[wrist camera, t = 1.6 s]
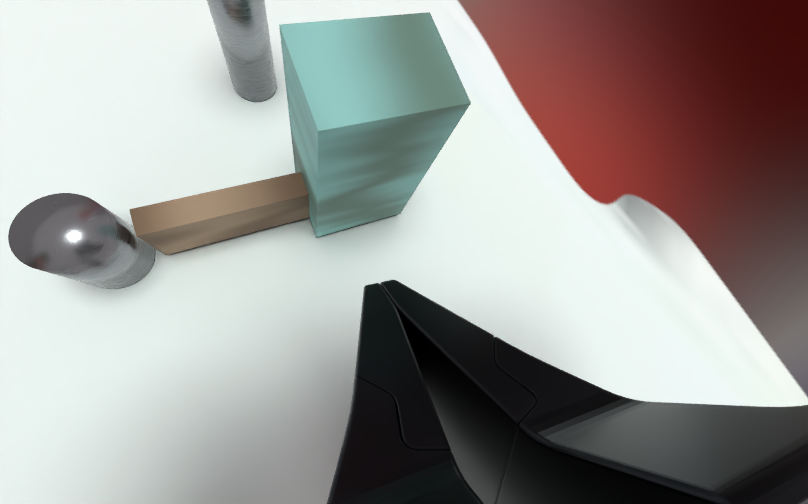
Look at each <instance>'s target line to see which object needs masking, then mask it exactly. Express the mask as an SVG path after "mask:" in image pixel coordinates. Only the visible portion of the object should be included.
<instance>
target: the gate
mask: <svg viewBox="0 0 808 504" xmlns="http://www.w3.org/2000/svg"><path fill="white" fill-rule="evenodd" d="M279 26H280V35H281V44H282V53H283V63H284V72H285V81H286V90H287V99H288V108H289V117H290V126H291V135H292V144H293V154H294V163H295V172H296V173H294V174H289V175H284V176H280V177H275V178H271V179H266V180H262V181H257V182H253V183H248V184H243V185H239V186H234V187H230V188H225V189H221V190H216V191H212V192H207V193H202V194H198V195H193V196H189V197H184V198H180V199H175V200H171V201H166V202H161V203H157V204H152V205H148V206H143V207H139V208H134V209H130V214H131V218H132V222H133V226H134V230H135V234H136V237H138V238H140V239H141V240H143V241H144V242H146V243H148V244H149V245H151V246H152V247H154V248H156V249H157V250H159V251H161V252H162V253H164V254H165V255H169V254H172V253H176V252H180V251H184V250H188V249H191V248H195V247H199V246H203V245H207V244H210V243H214V242H218V241H222V240H225V239H229V238H233V237H237V236H241V235H244V234H248V233H252V232H256V231H260V230H263V229H267V228H271V227H275V226H279V225H282V224H286V223H290V222H294V221H298V220H301V219H305V218H309V217H310V220H311V223H312V226H313V229H314V232H315V235H316V237H319V236H323V235H326V234H330V233H333V232H337V231H341V230H344V229H348V228H351V227H355V226H358V225H362V224H365V223H369V222H372V221H376V220H379V219H383V218H386V217H390V216H393V215H397V214H400V213H401V211H402V210H403V208H404V207H405V205H406V203H407V202H408V200H409V199H410V197H411V196H412V194H413V193H414V191H415V189H416V188H417V186H418V185H419V183H420V182H421V180H422V178H423V177H424V175H425V174H426V172H427V171H428V169H429V168H430V166H431V164H432V163H433V161H434V160H435V158H436V157H437V155H438V153H439V152H440V150H441V149H442V147H443V146H444V144H445V143H446V141H447V139H448V138H449V136H450V135H451V133H452V132H453V130H454V128H455V127H456V125H457V124H458V122H459V121H460V119H461V118H462V116H463V114H464V113H465V111H466V110H467V108H468V107H469V105H470V103H471V102H470V100H469V98H468V96H467V93H466V91H465V89H464V87H463V85H462V82H461V80H460V78H459V76H458V74H457V71H456V69H455V67H454V65H453V63H452V60H451V58H450V56H449V54H448V52H447V49H446V47H445V45H444V43H443V41H442V38H441V36H440V34H439V32H438V30H437V27H436V25H435V23H434V21H433V19H432V16H431V14H430V12H429V13H417V14H405V15H393V16H380V17H368V18H356V19H344V20H332V21H320V22H307V23H295V24H283V25H279Z"/></svg>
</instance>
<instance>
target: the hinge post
mask: <svg viewBox="0 0 808 504" xmlns="http://www.w3.org/2000/svg"><path fill="white" fill-rule="evenodd" d="M8 238H9V245H10V248H11V250H12V252H13V253H14V255H15V256H16V257H17V258H18V259H19V260H20V261H21V262H22V263H24V264H26V265H28V266H30V267H32V268H35V269H39V270H42V271H46V272H49V273H53V274H57V275H60V276H64V277H67V278H71V279H74V280H78V281H82V282H85V283H89V284H92V285H96V286H99V287H103V288H109V289H117V288H124V287H127V286H130V285H132V284H135V283H136V282H138V281H140V280H141V279H142V278H143V277H145V276H146V275H147V273H148V272H149V271H150V269H151V268H152V266H153V263H154V260H155V249H154V247H152V246H151V245H149V244H148V243H146V242H144V241H143V240H141V239H140V238H138V237H136V234H135V230H134V227H133V226H131V225H130V224H128V223H127V222H125V221H124V220H122V219H121V218H119V217H118V216H116V215H115V214H113V213H112V212H110V211H109V210H107V209H106V208H104V207H103V206H101V205H100V204H98V203H97V202H95V201H93V200H92V199H90V198H88V197H85V196H82V195H78V194H71V193H60V194H53V195H48V196H45V197H42V198H40V199H37V200H35V201H33V202H32V203H30V204H29V205H27V206H26V207H24V208H23V209H22V210H21V211H20V212H19V213H18V214H17V216H16V217H15V218H14V220H13V222H12V224H11V226H10V229H9V235H8Z"/></svg>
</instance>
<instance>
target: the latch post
mask: <svg viewBox="0 0 808 504" xmlns="http://www.w3.org/2000/svg"><path fill="white" fill-rule="evenodd" d="M207 2H208V5H209V9H210V12H211V15H212V18H213V22H214V25H215V28H216V31H217V34H218V38H219V41H220V44H221V47H222V50H223V54H224V57H225V60H226V63H227V67H228V70H229V73H230V76H231V79H232V83H233V86H234V89H235V90H236V92H237V93H238V94H239V95H240V96H241V97H243V98H244V99H247V100H250V101H255V102H259V101H265V100H267V99H269V98H271V97H272V96H273V95H274V93H275V92H276V88H277V84H276V77H275V70H274V63H273V56H272V50H271V43H270V36H269V29H268V22H267V15H266V8H265V1H264V0H207Z"/></svg>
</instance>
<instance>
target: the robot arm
mask: <svg viewBox="0 0 808 504" xmlns="http://www.w3.org/2000/svg"><path fill="white" fill-rule="evenodd" d="M327 504H808V405H804V406H794V407H756V406H732V405H709V404H685V403H662V402H645V401H639V400H633V399H629V398H625V397H622V396H619V395H616V394H614V393H611V392H609V391H606V390H604V389H602V388H600V387H598V386H595V385H593V384H591V383H589V382H587V381H584V380H582V379H580V378H578V377H576V376H574V375H571V374H569V373H567V372H565V371H563V370H560V369H558V368H556V367H554V366H552V365H550V364H548V363H545V362H543V361H541V360H539V359H537V358H535V357H533V356H531V355H529V354H527V353H525V352H523V351H521V350H519V349H518V348H516V347H514V346H512V345H510V344H508V343H507V342H505V341H503V340H501V339H499V338H498V337H494V336H493V335H492V334H490V333H489V332H487V331H485V330H483V329H481V328H480V327H478V326H476V325H474V324H473V323H471V322H469V321H467V320H466V319H464V318H462V317H460V316H458V315H457V314H455V313H453V312H451V311H450V310H448V309H446V308H444V307H442V306H441V305H439V304H437V303H435V302H434V301H432V300H430V299H428V298H427V297H425V296H423V295H421V294H419V293H418V292H416V291H414V290H412V289H411V288H409V287H407V286H405V285H403V284H402V283H400V282H398V281H396V280H390V281H385V282H381V283H380V284H379V283H375V284H371V285H366V286H365V287H364V294H363V303H362V313H361V323H360V332H359V342H358V351H357V361H356V370H355V379H354V388H353V396H352V403H351V409H350V415H349V419H348V424H347V428H346V433H345V437H344V441H343V445H342V448H341V452H340V456H339V460H338V463H337V467H336V471H335V475H334V479H333V482H332V486H331V490H330V494H329V497H328V501H327Z"/></svg>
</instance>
